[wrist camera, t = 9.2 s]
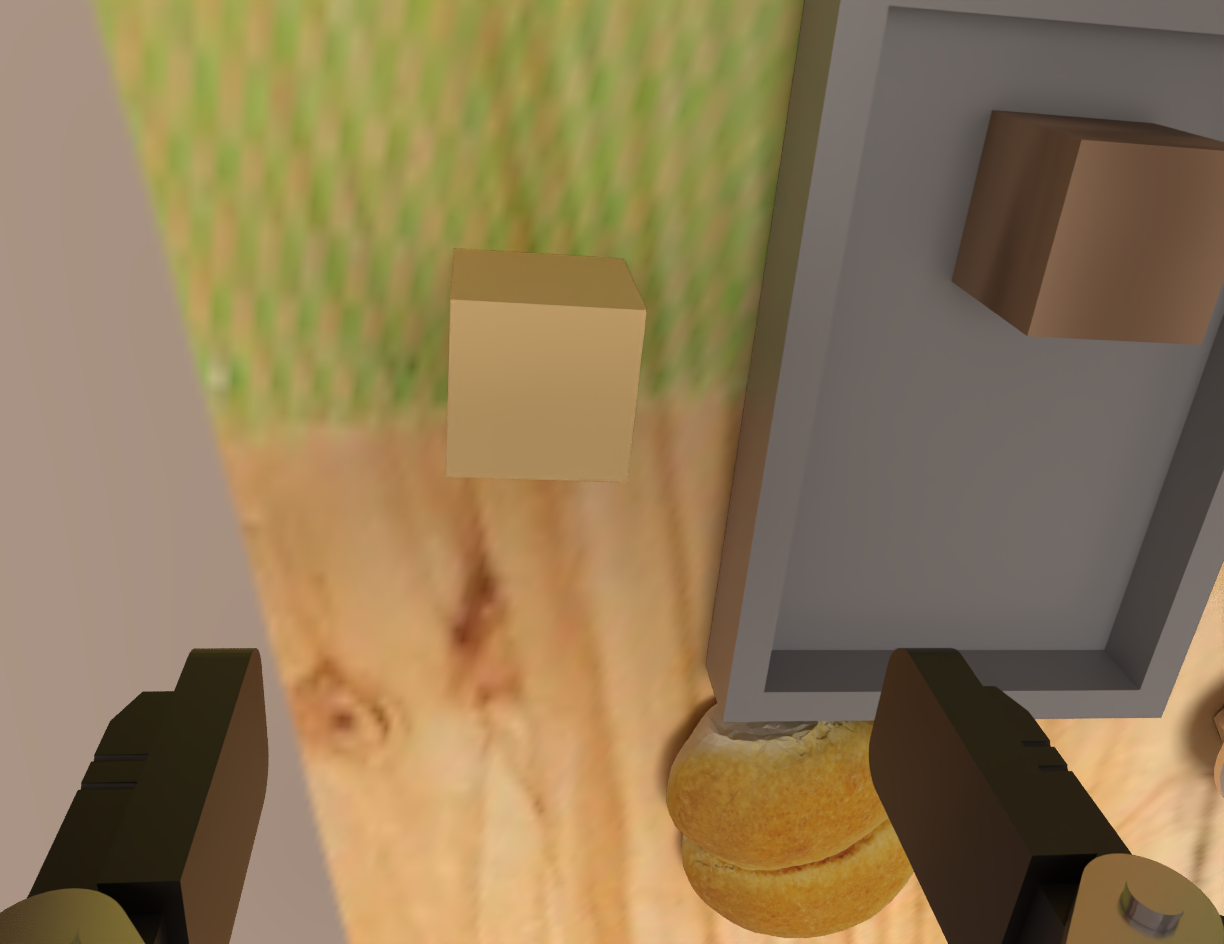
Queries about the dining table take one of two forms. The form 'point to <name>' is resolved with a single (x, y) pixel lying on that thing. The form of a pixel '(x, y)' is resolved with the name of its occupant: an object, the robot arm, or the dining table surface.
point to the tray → (962, 386)
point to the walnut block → (1096, 228)
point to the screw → (1220, 754)
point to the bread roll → (785, 825)
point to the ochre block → (542, 366)
